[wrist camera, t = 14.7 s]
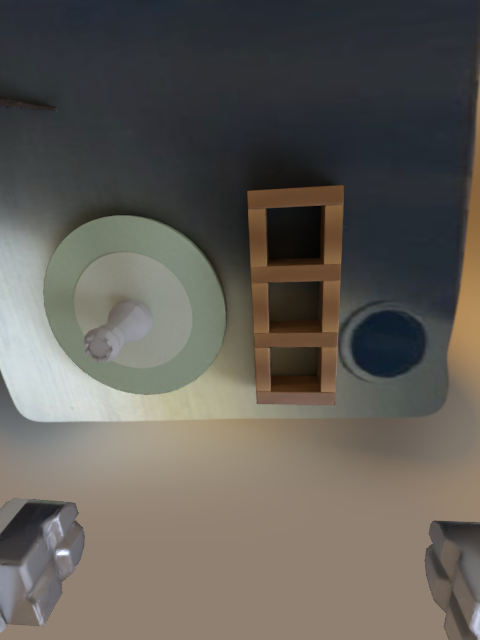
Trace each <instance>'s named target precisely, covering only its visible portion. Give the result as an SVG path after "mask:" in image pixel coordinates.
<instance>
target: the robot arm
mask: <svg viewBox="0 0 480 640" xmlns="http://www.w3.org/2000/svg"><path fill="white" fill-rule="evenodd" d="M77 515H78V510H77V507H76V504H75V503H71V502H62V501H50V500H37V499H22V498H13V499H11V500H10V501H8V502H6V503H5V504H4V506H3V507H2V508H1V509H0V633H1V632H2V631H3V630H4V629H5V628H6V627H7V625H6V624H13V625H14V624H15V625H30V626H44V625H45V623H46V621H47V620H48V617H49V616H50V614H51V613H52V611H53V609H54V607H55V605H56V603H57V602H58V600H59V598H60V596H61V594H62V581H64V580H65V579H66V578H67V577H69V576H70V575H71V574H72V573H73V572H74V570H75V569H76V567H77V565H78V563H79V561H80V559H81V556H82V552H83V549H84V539H85V536H84V531H83V527H81V526H80V525H79V524H78V523H77V522H76V521H75V518H76V517H77ZM429 536H430V538H431V540H432V543H433V544H432V545H430V546H429V547H428V548H427V549H426V554H425V568H426V576H427V580H428V583H429V588H430V591H431V593H432V596H433V599H434V601H435V602H436V603H437V604H438V605H439V606H440V607H441V609H442V610H444V612H445V613H446V618H445V623H444V629H445V631H446V634H447V636H448V639H449V640H480V523H479V522H455V521H454V522H453V521H433V522H432V523H431V524H430V530H429Z"/></svg>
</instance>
